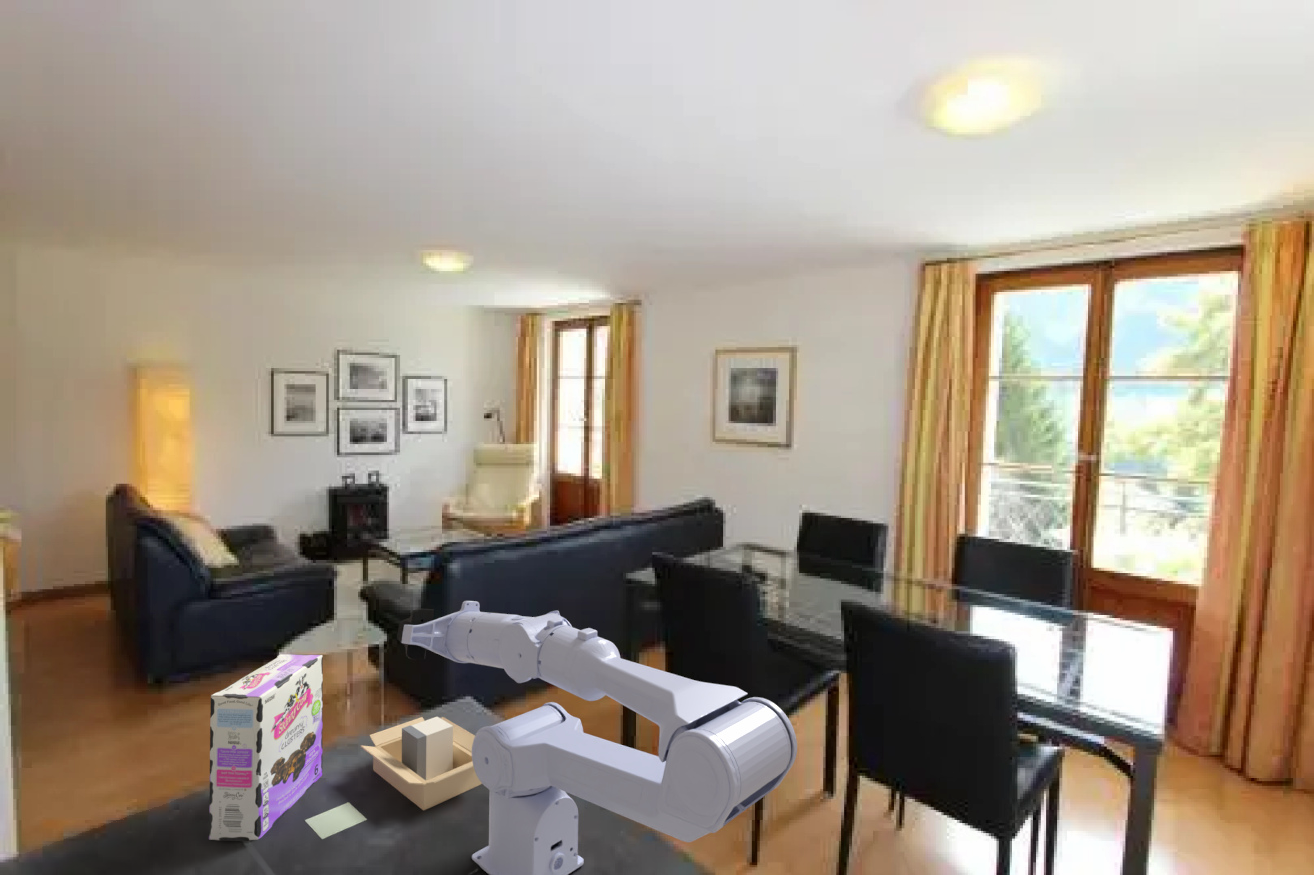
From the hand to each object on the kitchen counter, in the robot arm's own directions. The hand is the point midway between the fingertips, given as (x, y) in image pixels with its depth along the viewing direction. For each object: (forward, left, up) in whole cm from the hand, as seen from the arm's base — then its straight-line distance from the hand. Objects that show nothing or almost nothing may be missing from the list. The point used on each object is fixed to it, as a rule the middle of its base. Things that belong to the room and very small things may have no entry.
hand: (429, 630), depth 84 cm
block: (+2, -1, -20) cm, 20 cm away
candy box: (+10, +15, -20) cm, 27 cm away
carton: (+2, -1, -20) cm, 20 cm away
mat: (+1, +11, -20) cm, 23 cm away
